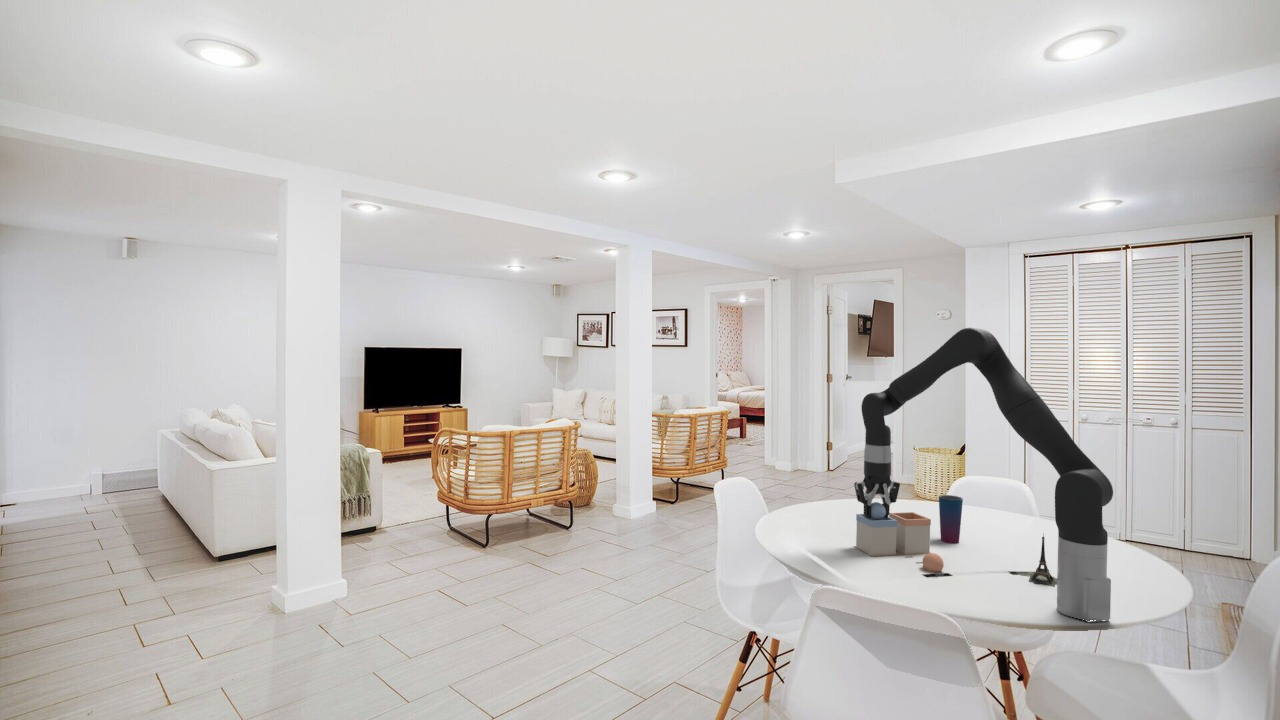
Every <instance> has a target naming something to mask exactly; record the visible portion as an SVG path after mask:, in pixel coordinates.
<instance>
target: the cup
mask: <svg viewBox="0 0 1280 720" xmlns="http://www.w3.org/2000/svg"><path fill="white" fill-rule="evenodd" d="M963 499H964V498H963V497H961V496H957V495H950V494H940V495H938V506H939V507H938V508H939V509H938V510H939V526H940V527H939V528H940V529H939V530H940V541H941V542H943V543H946V544H959V543H960V537H961V535H960V534H961V524H962V523H961V522H962V513H963V501H964V500H963Z"/></svg>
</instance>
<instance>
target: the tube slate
mask: <svg viewBox="0 0 1280 720" xmlns="http://www.w3.org/2000/svg"><path fill="white" fill-rule="evenodd" d="M855 516H856V518H855V519H856V534H855V535H856V536H855V537H856V538H855V540H856V543H855V544H856V545H855V546H856V547H857V548H858V549H860V550H862V551H864V552H865V553H867V554H869V555H871V556H876V555H896V527H897V520H895V519H893V518H890V517H889V516H888V517H884V518H883V519H881V520H873V519H872V518H867V517H865V515H864V513H856V515H855ZM858 549H857V550H858ZM860 550H859V551H860ZM862 551H861V552H862ZM865 553H864V554H865ZM867 554H866V555H867ZM869 555H868V556H869Z"/></svg>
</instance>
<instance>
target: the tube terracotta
mask: <svg viewBox="0 0 1280 720" xmlns="http://www.w3.org/2000/svg"><path fill="white" fill-rule="evenodd" d="M888 517H890V518H893V519H895V520H897V527H896V550H898V551H900V552H902V553H904V554H918V553H931V552H930V546H931V545H930V543H931V524H932V523H931V522H932V518H929V517H926V516H924V515H921V514H919V513H916V512H913V511H912V512H909V511H908V512H889V515H888Z"/></svg>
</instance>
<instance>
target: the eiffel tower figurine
mask: <svg viewBox="0 0 1280 720" xmlns="http://www.w3.org/2000/svg"><path fill="white" fill-rule="evenodd" d="M1044 535H1045V533H1044V532H1043V534H1042V537H1041V540H1042V541H1041V551H1040V559H1039V561H1038V562H1039V563H1038V567H1036V569H1035V571H1008V573H1009V574H1011V575H1013V576H1021V577H1023V576H1024V577H1029V579H1028V583H1033V584H1034V585H1042V586H1047V587H1052V588H1055V587H1056V586H1057V577H1054V576H1052V574H1051V573H1050V569H1049V568H1048V565H1047V561H1046V552H1045V551H1046V550H1045V536H1044ZM1042 566H1043V568H1041V567H1042Z"/></svg>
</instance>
